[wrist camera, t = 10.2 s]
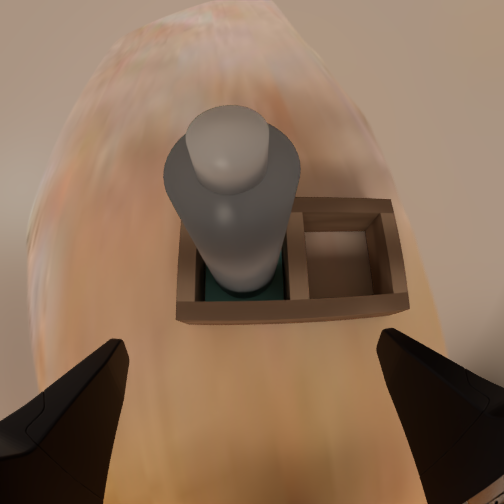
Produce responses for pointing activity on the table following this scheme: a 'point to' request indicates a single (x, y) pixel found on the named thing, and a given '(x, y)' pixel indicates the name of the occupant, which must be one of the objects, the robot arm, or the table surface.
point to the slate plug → (234, 194)
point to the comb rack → (301, 271)
